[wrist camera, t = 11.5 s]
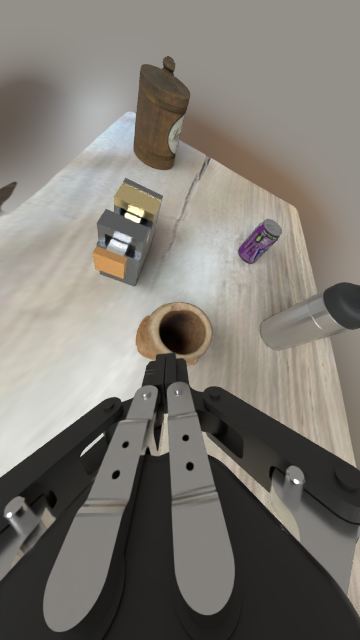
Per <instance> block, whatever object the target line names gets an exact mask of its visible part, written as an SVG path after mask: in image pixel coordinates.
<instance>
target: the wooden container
mask: <svg viewBox="0 0 360 640" xmlns="http://www.w3.org/2000/svg"><path fill="white" fill-rule="evenodd" d="M163 65H164V67H163V69H160V68H158V67H155V66H152V65H148V64H144V65H142V66H141V71H140V80H139V94H138V105H137V113H136V123H135V137H134V152H135V154H136V156H137V157H138V158H139V159H140V160H141V161H142V162H144V163H145V164H147V165H149V166H151V167H153V168H157V169H162V170H166V169H170V168H171V167H172V166H173V162H174V158H175V154H176V151H177V147H178V143H179V139H180V134H181V130H182V126H183V122H184V117H185V113H186V110H187V106H188V103H189V98H190V92H189V90H188V88H187V87H186V86H185V85H184V84H183V83H182V82H181V81H180V80H178V79H177V78H176V77H174V74H173V71H174V69H175V63H174V60H173V59H172V58H171V57H169V56H167V57H165V58H164V59H163Z"/></svg>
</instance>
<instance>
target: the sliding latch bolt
mask: <svg viewBox="0 0 360 640" xmlns="http://www.w3.org/2000/svg"><path fill="white" fill-rule="evenodd" d="M124 217H126V218H128V219H130V220H132V221H135V222H137V223H139V224H141V222H142V220H143V217H141V216H139V215H136V214H134V213H132V212H130V211H127V212H126V214H125V216H124ZM130 246H131V244H129V243H126V242H124V241H121V240H119V239H117V238H114V237H112V239H111V241H110V243H109V245H108V247H107V248H106V250H105V249H103V248H100V247H96V248H95V250H94V252H93V257H94V263H95V269H97V270H100V271H103V272H106V273H109V274H111V275H114V276H117V277H120V278H122V279H124V276H125V274H126V268H127V258H126V255H127V252H128V250H129V248H130Z"/></svg>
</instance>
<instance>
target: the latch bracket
mask: <svg viewBox="0 0 360 640" xmlns="http://www.w3.org/2000/svg"><path fill="white" fill-rule="evenodd" d="M162 198H163V196H162V195H160V194H158V193H156V192H154V191H152V190H150V189H147V188H145V187H143V186H141V185H139V184H137V183H135V182H133V181H131V180H129V179H127V178H125V180H124V181H123V184H122V185H121V187H120V188H119V190H118V191H117V193H116V194H115V196H114V212H112V211H110V210H107V209H106V210H105V211H104V213H103V214H102V216H101V217H100V219H99V221H98V222H97V229H98V238H99V241H98V243H97V247H100V248H103V249H105V250H106V248H107V247H108V245H109V243H110V241H111V239H112V237H114V238H117V239H119V240H121V241H124V242H126V243H129V244H131V246H130V248H129V250H128V252H127V255H126V258H127V268H126V274H125V276H124V279H122V278H120V277H117V276H114V275H111V274H109V273H106V272H103V271H100V274H101V275H104V276H107V277H110V278H113V279H115V280H118V281H121V282H124V283H127V284H129V285H132V286H135V284H136V282H137V279H138V277H139V274H140V271H141V269H142V266H143V264H144V261H145V259H146V256H147V254H148V251H149V248H150V246H151V243H152V240H153V235H154V231H155V227H156V223H157V219H158V214H159V210H160V206H161V202H162ZM127 211H130V212H132V213H134V214H136V215H139V216H141V217H143V220H142V222H141V224H139V223H137V222H135V221H132V220H130V219H128V218H126V217H124V216H125V214H126V212H127Z"/></svg>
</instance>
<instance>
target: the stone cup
mask: <svg viewBox="0 0 360 640" xmlns="http://www.w3.org/2000/svg"><path fill="white" fill-rule="evenodd" d="M211 340H212V326H211V323H210V321H209V319H208V317H207V316H206V314H205V313H204V312H203V311H202V310H201V309H199V308H198V307H196V306H194V305H192V304H189V303H183V302H175V303H169V304H165V305H162V306H161V307H159V308H158V309H156V310H155V311H154V312H153V313H152V314H151V316H147V317H145V318H144V319H143V320H142V322H141V324H140V326H139V328H138V331H137V335H136V345H137V349H138V352H139V353H140V354H141V355H143V356H144V357H147V358H149V359H152V360H156V355H157V354H164V353H173V352H176V358H184V360H185V361H186V365H195V364H196V362H197V360H198V358H199V357H201V356H202V355H203V354H204V353H205V352H206V350H207V349H208V347H209V345H210V343H211Z"/></svg>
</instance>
